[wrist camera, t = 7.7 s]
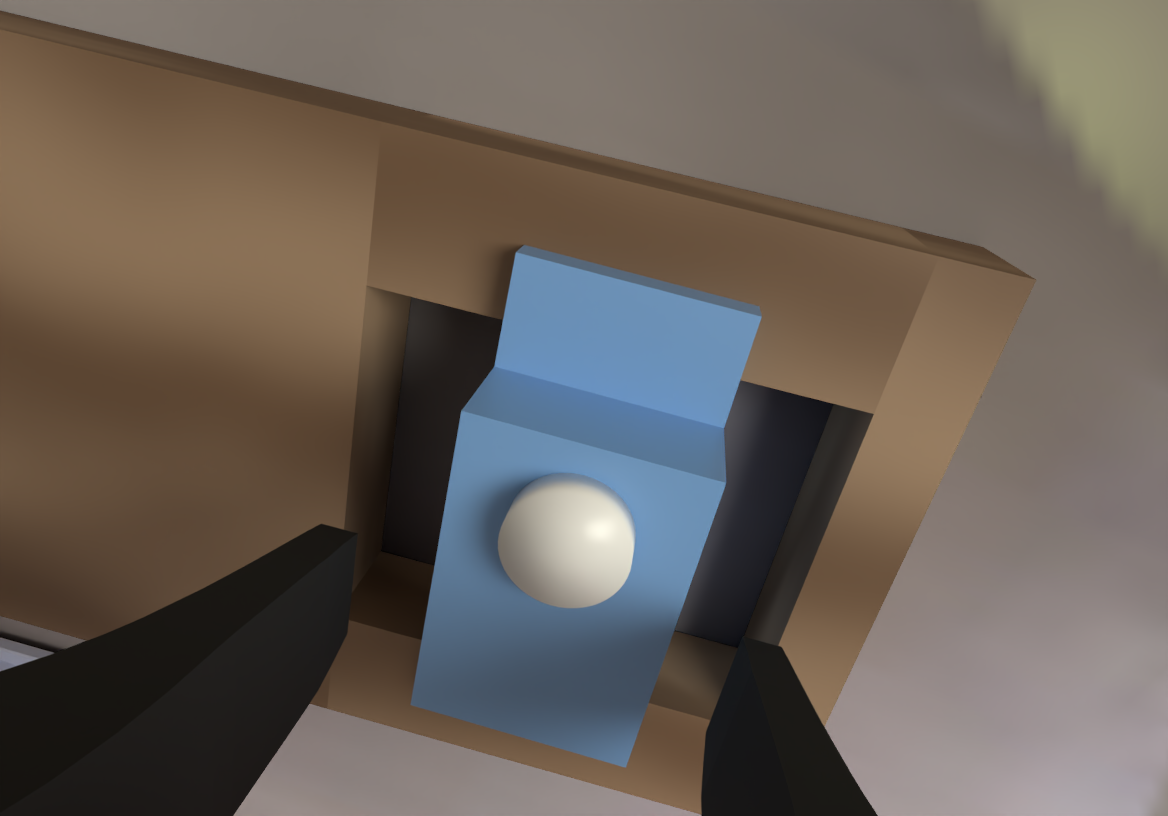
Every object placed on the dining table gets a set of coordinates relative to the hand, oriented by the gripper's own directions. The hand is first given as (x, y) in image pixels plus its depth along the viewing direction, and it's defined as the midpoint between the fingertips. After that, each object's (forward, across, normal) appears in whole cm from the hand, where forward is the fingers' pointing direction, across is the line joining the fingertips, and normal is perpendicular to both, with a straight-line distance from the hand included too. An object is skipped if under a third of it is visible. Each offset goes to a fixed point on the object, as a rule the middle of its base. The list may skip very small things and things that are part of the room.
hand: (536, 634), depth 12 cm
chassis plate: (+6, +4, 0) cm, 7 cm away
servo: (+6, 0, 0) cm, 6 cm away
